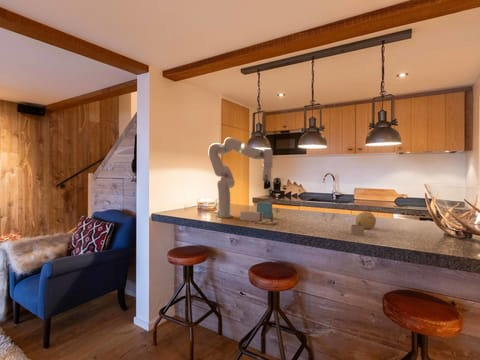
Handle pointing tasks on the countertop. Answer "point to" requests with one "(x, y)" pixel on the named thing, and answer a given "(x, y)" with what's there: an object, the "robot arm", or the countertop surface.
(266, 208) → the data package
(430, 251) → the countertop surface
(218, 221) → the countertop surface
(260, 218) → the post plate
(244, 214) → the power strip
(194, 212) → the countertop surface
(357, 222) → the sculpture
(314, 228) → the countertop surface
